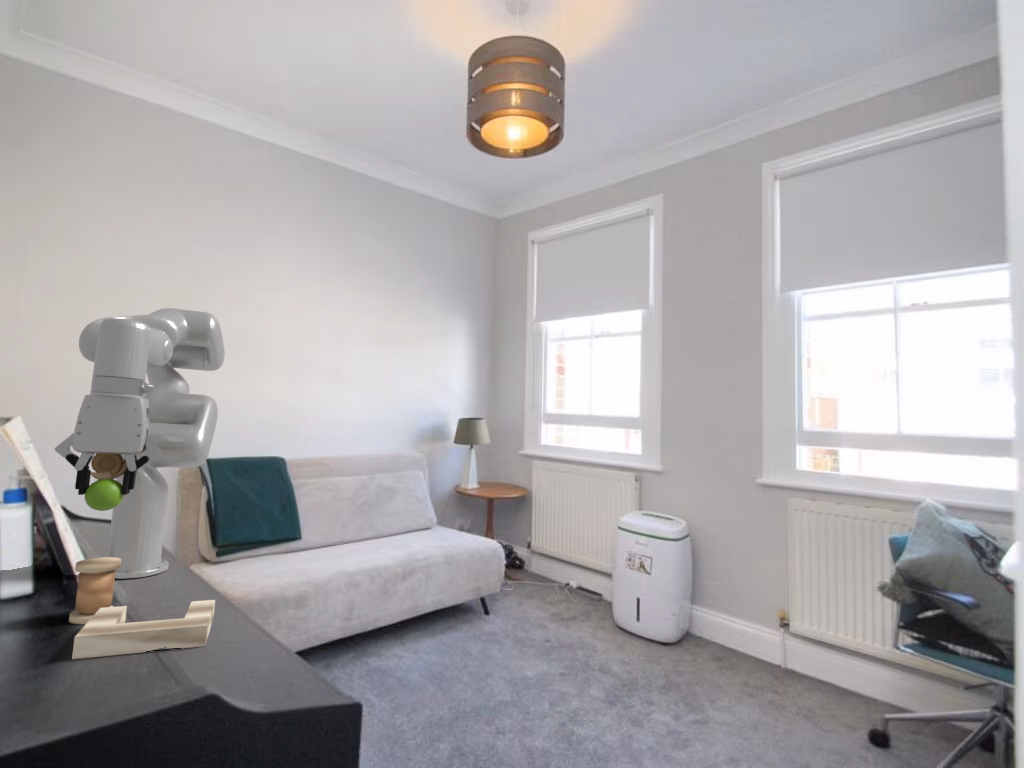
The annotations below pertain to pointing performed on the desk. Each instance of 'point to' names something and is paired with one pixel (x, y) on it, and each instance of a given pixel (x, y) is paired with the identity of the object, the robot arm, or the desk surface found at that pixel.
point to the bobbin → (94, 587)
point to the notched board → (142, 632)
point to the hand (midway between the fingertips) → (104, 492)
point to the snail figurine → (106, 482)
